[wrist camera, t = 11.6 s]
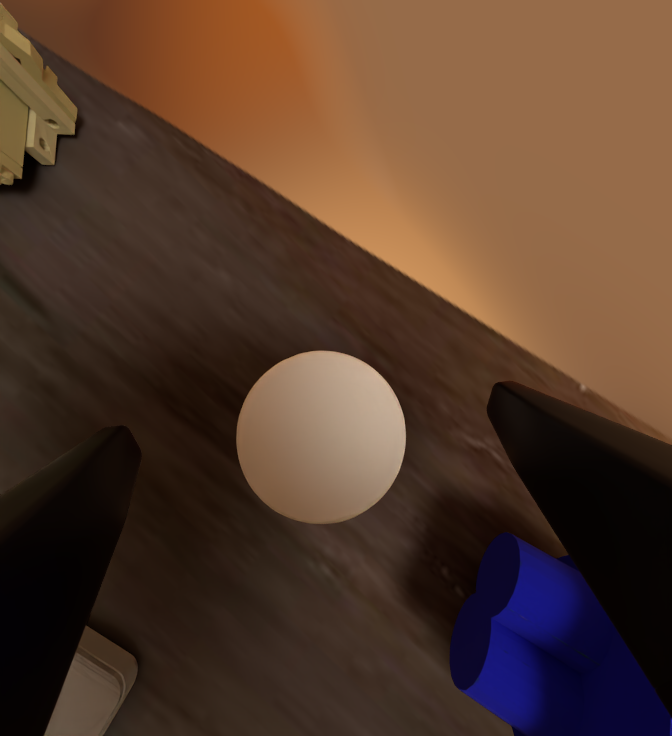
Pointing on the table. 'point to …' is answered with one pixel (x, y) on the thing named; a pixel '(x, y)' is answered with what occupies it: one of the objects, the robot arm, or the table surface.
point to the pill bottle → (321, 437)
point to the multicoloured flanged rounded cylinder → (548, 651)
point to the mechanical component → (28, 104)
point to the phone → (93, 687)
